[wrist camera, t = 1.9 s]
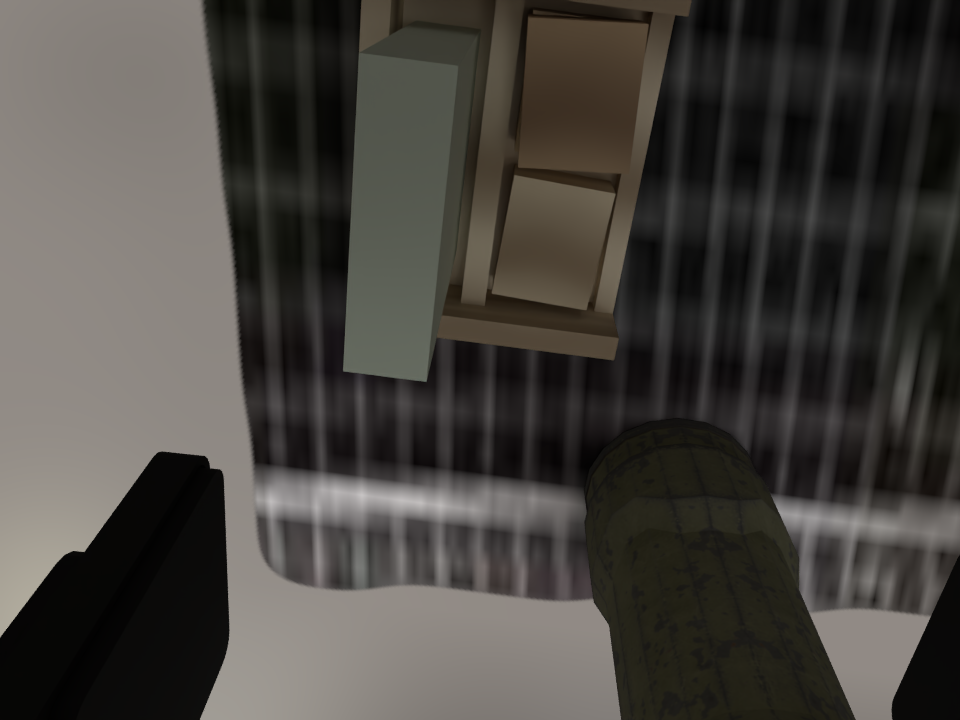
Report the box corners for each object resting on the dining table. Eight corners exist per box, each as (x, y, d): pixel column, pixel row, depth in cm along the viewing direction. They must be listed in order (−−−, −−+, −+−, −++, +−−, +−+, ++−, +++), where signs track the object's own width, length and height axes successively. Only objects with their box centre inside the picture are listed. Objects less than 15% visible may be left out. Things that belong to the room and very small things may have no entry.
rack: (385, -58, 31) (364, -60, 27) (672, -20, 31) (695, -16, 27) (364, 285, 37) (345, 325, 33) (604, 316, 37) (614, 360, 33)
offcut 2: (514, 163, 33) (514, 175, 31) (610, 181, 33) (615, 193, 32) (493, 276, 35) (491, 293, 34) (583, 292, 36) (586, 310, 34)
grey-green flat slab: (416, 20, 31) (358, 52, 20) (481, 29, 31) (458, 66, 20) (398, 244, 35) (343, 371, 24) (456, 252, 35) (426, 381, 24)
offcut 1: (528, 13, 29) (528, 17, 27) (641, 20, 29) (648, 24, 27) (518, 155, 31) (517, 167, 29) (623, 161, 31) (629, 174, 29)
